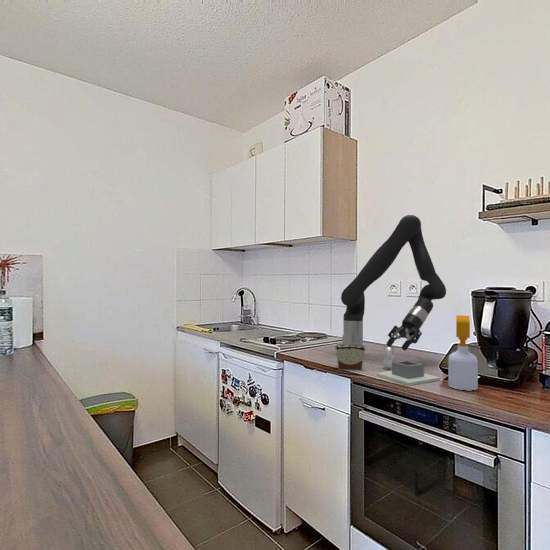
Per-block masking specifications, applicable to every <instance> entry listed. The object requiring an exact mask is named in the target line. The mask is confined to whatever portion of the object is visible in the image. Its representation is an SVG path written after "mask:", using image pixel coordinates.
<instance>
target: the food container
mask: <svg viewBox="0 0 550 550" xmlns="http://www.w3.org/2000/svg"><path fill="white" fill-rule="evenodd" d="M334 350H336V357H337V367H338V369H337V370H338V371H358V372H359V371H363V364H364V363H363V361H364V355H365V354H364V353H365V352H366V347H365V345H364V344H363V345H360V344H352V343H343V344H342V343H338V344H336V345H335V348H334Z"/></svg>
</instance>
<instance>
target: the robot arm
mask: <svg viewBox="0 0 550 550" xmlns="http://www.w3.org/2000/svg"><path fill="white" fill-rule="evenodd" d="M422 230H423V229H422V222H421V219H420V218H419V217H418V216H416V215H414V214H408V215H407V214H406V215H405V216H403V217H402V218H401V219H400V220H399V221H398V224H397V225H396V227H395V228H394V230H393V231H392V232H391V234H390V235H389V237H388V238H387V240H385V241H384V242H383V243H382V244H381V246H379V248H378V249H377V250H376V251H375V252H374V253H373V254H372V256H370V258H369V259H368V261H367V262H366V263H365V265H364V266H363V268H361V270H360V271H359V273H358V274H357V275H356V277H355V278H354V279H353V280H352V281H351V282H350V283H349V284H348V285H347V286H346V287H345V288H344V289H343V290H342V292H341V295H340V300H341V302H342V304H343V305H345V306H346V309H345V311H344V314H343V323H342V324H343V330H342V331H343V333H342V337H341V339H342V340H341V341H342V343H341V344H343V343H352V344H360V345H364V321H363V320H364V315H365V310H366V309H365V305H366V302H365V301H366V299H365V296H366V295H365V291H366V290H367V289H368V288H369V287H370V286H371V285H372V284H374V282H376V281H377V280H378V279H380V278H381V277H382V276H384V274H385V273H386V272H387V271H388V269H389V268H390V267H391V266H392V264H393V263H394V262H395V260H396V258H397V257H398V255H399V254H400V252H401V250H402V249H403V248H404V246H405V245H406V244H407V243H409V246H410V249H411V253H412V258H413V261H414V265H415V267H416V271H417V273H418V276H419V279H420V280H421V281H424V282H427V283H428V284H426V285H424V286H423V287H422V288H421V290H420V292H419V295H418V298H417V301H416V302H415V304H413V306H412V308H410V309H409V311H408V313H406V315H405V317H404V318H403V319H402V322H401V325H400V326H398V325H394V326H393V328H391V330H390V331H389V333H388V334H387V337H388V338H389V339H388V340H387V342H386V346H390V347H393V344H394V343H395V341H398V339H399V340H400V339H406V340H405V341H404V342H403V344H402V345H401V349H402V350H403V351H406V350H408V348H410V346H411V345H412V344H415V345H416V344H417V343H418V341H419V339H420V338H421V336H422V335H423V333H422V331H421V330H420V329H422V328H421V327H422V326H423V325H424V323H425V322H426V321H427V319H428V316H429V315H430V313H431V312H432V311H433V308H434V304H433V302H432V301H434V300H441V299H442V300H443V298H445V297H446V294H447V289H446V286H445V284H444V282H443V280H442V279H441V278H440V276H439V275H438V274H437V271H436V269H435V266H434V264H433V260H432V258H431V256H430V253H429V251H428V249H427V246H426V242H425V241H424V236H423V231H422Z"/></svg>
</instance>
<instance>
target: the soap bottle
mask: <svg viewBox="0 0 550 550" xmlns="http://www.w3.org/2000/svg"><path fill="white" fill-rule="evenodd" d="M455 317H456V320H455V322H456V325H455V326H456V328H455V329H456V331H455V332H456V333H455V334H456V335H455V337H456V338H458V340H459V343H457V349H456V351H453V352H452V353H450V354H449V355H448V369H447V370H448V379H447V381H448V387H450V388H451V389H453V388H454V390H457V389H458V391H462V390H466V391H465V392H473V391H472V390H474V391H477V390H478V389H479V388H478V387H479V384H478V383H479V380H478V379H479V373H478V372H479V370H478V369H479V367H478V366H479V363H478V362H479V360H478V358H477V356H476V355H474V353H471V352H470V351H469V344H468V343H467V342H466V341H468V339H469V338H470V337H471V336H470V334H471V329H470V328H471V327H470V325H471V324H470V323H471V320H470V315H463V314H461V315H460V314H459V315H456V316H455Z"/></svg>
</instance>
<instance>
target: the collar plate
mask: <svg viewBox="0 0 550 550" xmlns="http://www.w3.org/2000/svg"><path fill="white" fill-rule="evenodd" d="M424 372H425V364H424V363H420V362H417V361H412V360H398V361H394V362H392V370H386V371H381V372H376V376H377V377H380V378H383V379H387V380H389V381H393V382H395V383H399V384H403V385H405V386H414V385H420V384H428V383H432V382H433V381H434V382H438V381H439V380H440V381H441V377H439V376H435V375H432V374H428V373H424ZM434 382H433V383H434Z"/></svg>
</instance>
